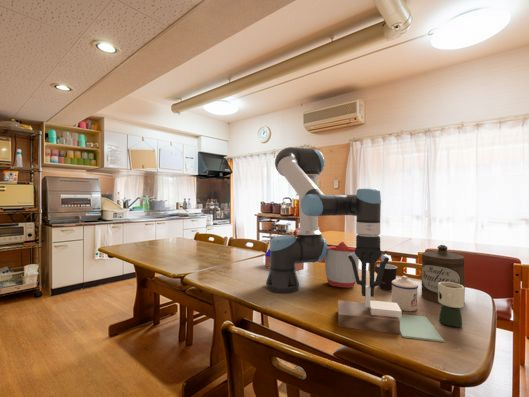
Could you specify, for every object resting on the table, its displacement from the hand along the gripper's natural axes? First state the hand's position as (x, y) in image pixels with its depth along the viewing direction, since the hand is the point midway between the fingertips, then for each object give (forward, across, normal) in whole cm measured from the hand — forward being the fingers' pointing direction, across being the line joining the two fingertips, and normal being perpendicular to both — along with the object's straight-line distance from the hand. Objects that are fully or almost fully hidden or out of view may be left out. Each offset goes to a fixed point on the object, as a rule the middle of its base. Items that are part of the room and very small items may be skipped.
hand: (367, 305), depth 91 cm
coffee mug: (+6, +12, +40) cm, 42 cm away
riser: (+6, 0, 0) cm, 6 cm away
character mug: (+6, +26, +6) cm, 27 cm away
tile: (+2, +5, 0) cm, 5 cm away
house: (+6, -39, +60) cm, 72 cm away
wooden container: (+6, +32, +31) cm, 45 cm away
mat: (+6, +14, 0) cm, 15 cm away
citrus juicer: (+5, -8, +37) cm, 38 cm away
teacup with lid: (+6, +15, +18) cm, 25 cm away
